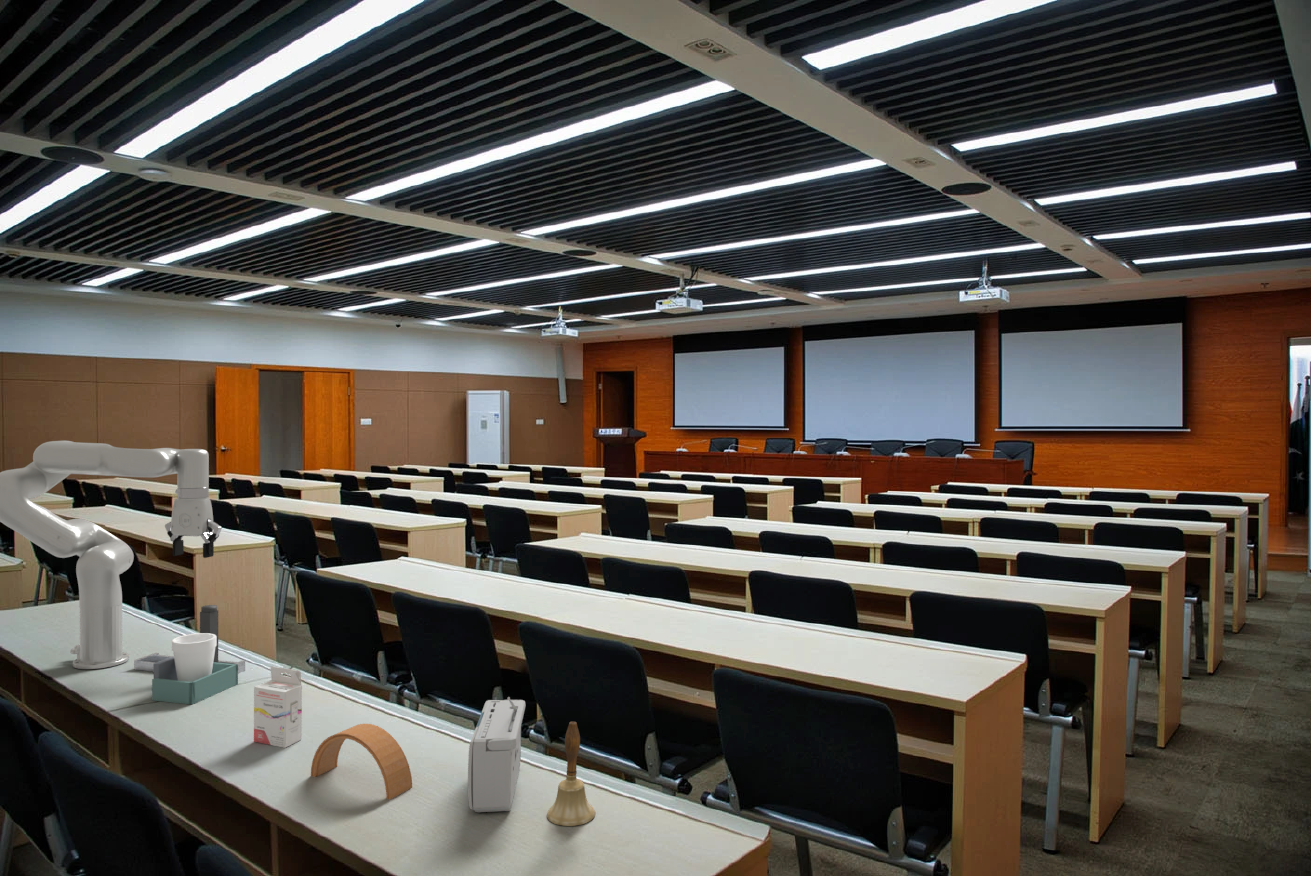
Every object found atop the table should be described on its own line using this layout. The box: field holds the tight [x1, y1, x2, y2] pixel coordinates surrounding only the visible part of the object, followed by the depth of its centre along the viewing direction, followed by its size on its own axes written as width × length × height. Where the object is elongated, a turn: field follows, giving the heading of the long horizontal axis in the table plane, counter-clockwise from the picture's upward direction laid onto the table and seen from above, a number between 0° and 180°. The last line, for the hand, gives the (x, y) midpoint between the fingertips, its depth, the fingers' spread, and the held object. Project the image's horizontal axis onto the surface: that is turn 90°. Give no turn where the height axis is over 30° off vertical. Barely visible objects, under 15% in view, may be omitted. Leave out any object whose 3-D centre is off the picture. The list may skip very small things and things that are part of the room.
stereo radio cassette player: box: [467, 696, 526, 814], centre depth 151 cm, size 21×8×20 cm, turn 4°
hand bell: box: [546, 721, 596, 827], centre depth 142 cm, size 8×8×16 cm
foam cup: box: [171, 632, 217, 682], centre depth 201 cm, size 10×9×13 cm
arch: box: [310, 723, 413, 801], centre depth 153 cm, size 6×20×10 cm, turn 63°
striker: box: [153, 604, 219, 680], centre depth 207 cm, size 5×21×17 cm, turn 167°
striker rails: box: [133, 652, 246, 674], centre depth 217 cm, size 28×7×2 cm, turn 77°
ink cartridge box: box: [253, 666, 303, 749], centre depth 171 cm, size 9×5×15 cm, turn 71°
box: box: [151, 662, 239, 705], centre depth 200 cm, size 11×15×5 cm
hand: (193, 556), depth 227 cm, fingers open, 9 cm apart
